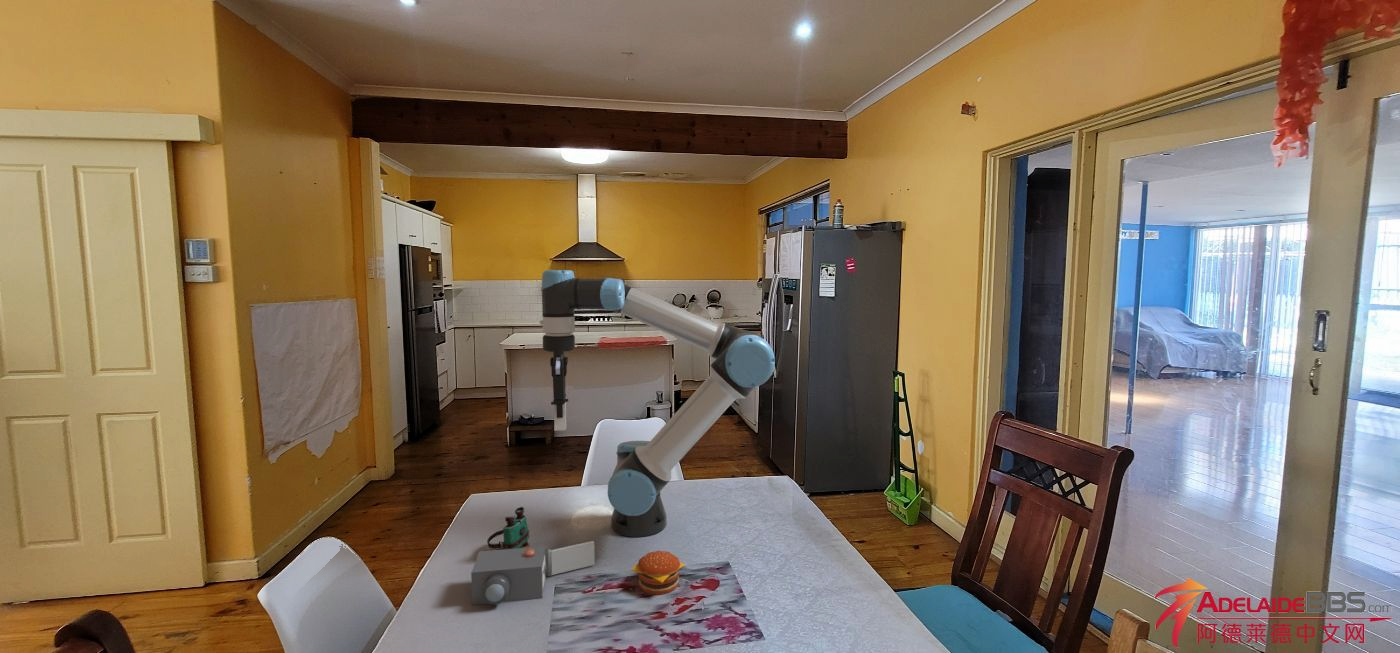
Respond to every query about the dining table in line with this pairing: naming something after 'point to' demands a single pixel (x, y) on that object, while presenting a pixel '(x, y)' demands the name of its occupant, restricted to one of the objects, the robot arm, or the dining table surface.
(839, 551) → the dining table surface
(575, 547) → the side door
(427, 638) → the dining table surface
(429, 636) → the dining table surface
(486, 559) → the camera body
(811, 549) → the dining table surface
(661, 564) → the hamburger
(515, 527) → the binoculars
